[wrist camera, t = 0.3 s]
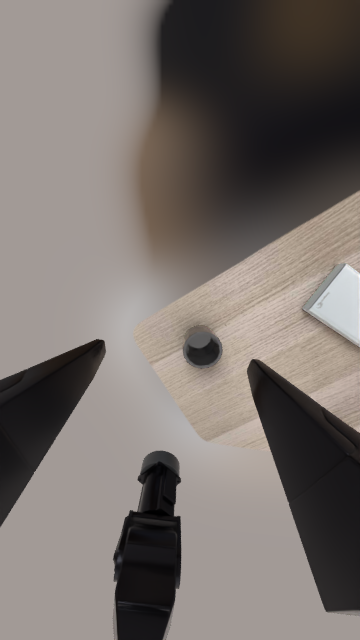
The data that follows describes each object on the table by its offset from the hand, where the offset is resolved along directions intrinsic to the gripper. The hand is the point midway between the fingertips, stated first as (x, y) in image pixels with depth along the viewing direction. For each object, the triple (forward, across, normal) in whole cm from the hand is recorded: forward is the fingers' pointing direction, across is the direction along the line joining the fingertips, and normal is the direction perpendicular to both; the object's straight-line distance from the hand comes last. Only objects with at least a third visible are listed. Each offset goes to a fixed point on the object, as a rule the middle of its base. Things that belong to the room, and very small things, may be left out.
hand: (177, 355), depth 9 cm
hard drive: (+17, -27, 0) cm, 32 cm away
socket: (+15, -4, +9) cm, 18 cm away
